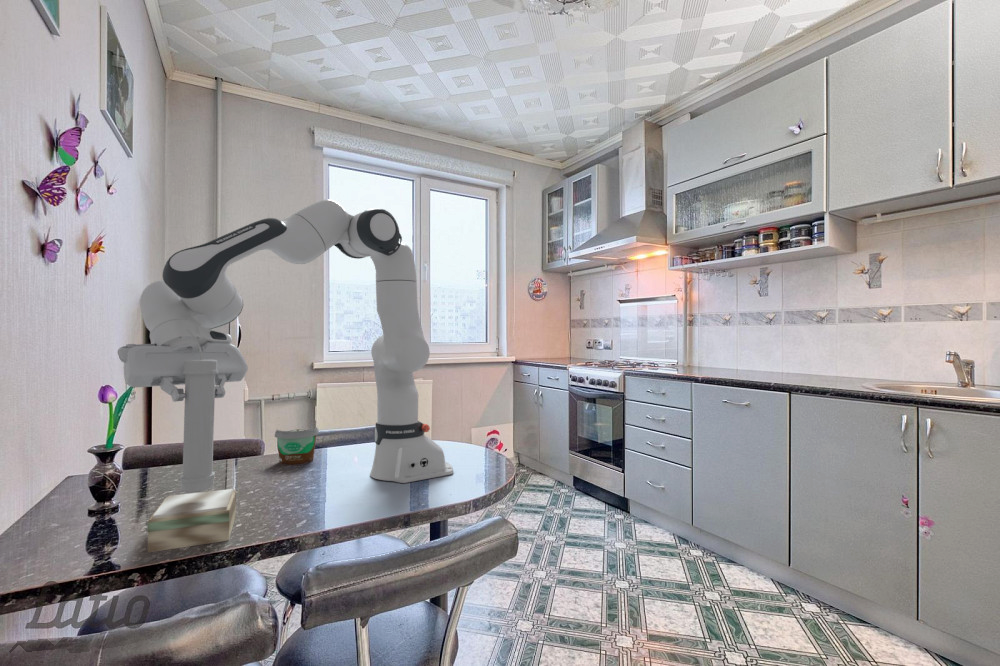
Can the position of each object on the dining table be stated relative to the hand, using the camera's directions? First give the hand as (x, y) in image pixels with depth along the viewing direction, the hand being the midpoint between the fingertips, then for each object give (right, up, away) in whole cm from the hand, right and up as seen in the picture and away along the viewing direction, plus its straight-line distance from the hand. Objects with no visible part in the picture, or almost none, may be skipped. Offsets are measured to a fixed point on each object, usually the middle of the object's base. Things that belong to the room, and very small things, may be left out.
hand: (200, 397), depth 86 cm
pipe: (-1, -17, 0) cm, 17 cm away
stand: (-1, -26, 0) cm, 26 cm away
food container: (-4, -27, +49) cm, 56 cm away
